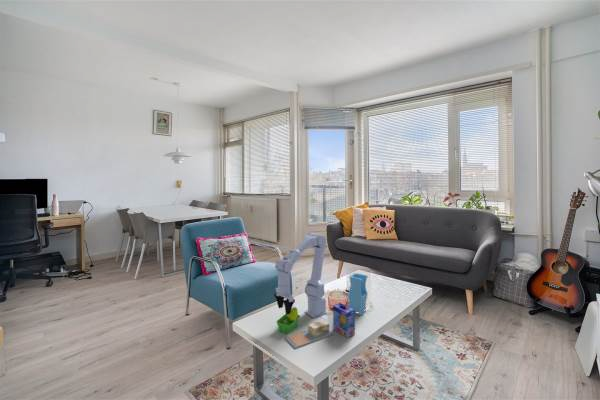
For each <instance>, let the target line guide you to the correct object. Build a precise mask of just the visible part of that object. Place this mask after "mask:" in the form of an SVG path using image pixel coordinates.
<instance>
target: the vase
mask: <svg viewBox="0 0 600 400" xmlns="http://www.w3.org/2000/svg"><path fill="white" fill-rule="evenodd" d="M367 278H368V275H366V274H362V273H358V272H354V273H352V274H350V275H349V280H350V281H349V283H350V287H349V291H348V294H347V298H348V301H349V302H348V304H349V305H348V307H350V308H352V309H354V310H355V315H357V316H362V315H364V314H365V313H366V312H367V305H366V304H367V298H368V291H367V288H366V287H367V286H366V282H367ZM365 309H366V310H365ZM364 310H365V311H364ZM356 312H359V313H356Z"/></svg>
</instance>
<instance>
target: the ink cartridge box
mask: <svg viewBox="0 0 600 400" xmlns="http://www.w3.org/2000/svg"><path fill="white" fill-rule="evenodd" d="M332 308H333V309H332V310H333V311H332V315H333V317H332V326H333V327H332V328H333V331H336V332H337V333H339V334H341V335H342V336H344V337H346V338H349V337H351V336H353V335H356V325H355V324H356V319H355V318H356V316H355V315H356V314H355V310H354V309H352V308H350V307H349V305H348V306H347V305H346V304H344V303H341V302H338V303H337V304H333V305H332Z"/></svg>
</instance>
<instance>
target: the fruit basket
mask: <svg viewBox="0 0 600 400" xmlns="http://www.w3.org/2000/svg"><path fill="white" fill-rule="evenodd" d="M298 313H299V311H298V307H295V306H292V309H291V313H290V314H286V313H285V314H284V315H282V316H281V317H279V318H278V319H277V320H276V325H277V326H278V327H277V328H278V331H279V332H281V333H285V334H290V333H291V332H292V331H293V330H294V329H296V327H297V326H298V324H299V320H300V316H301V315H299V314H298Z"/></svg>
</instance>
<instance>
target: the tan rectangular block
mask: <svg viewBox="0 0 600 400" xmlns="http://www.w3.org/2000/svg"><path fill="white" fill-rule="evenodd" d="M307 330H308V333H309V334H310V335H312V336H313V337H316V336H318V335H321V334H324V333H327V332H329V331H330V323H329V322H328V321H326V320H325V319H321V320H319V321H316V322H312V323H309V324H308V327H307Z"/></svg>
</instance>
